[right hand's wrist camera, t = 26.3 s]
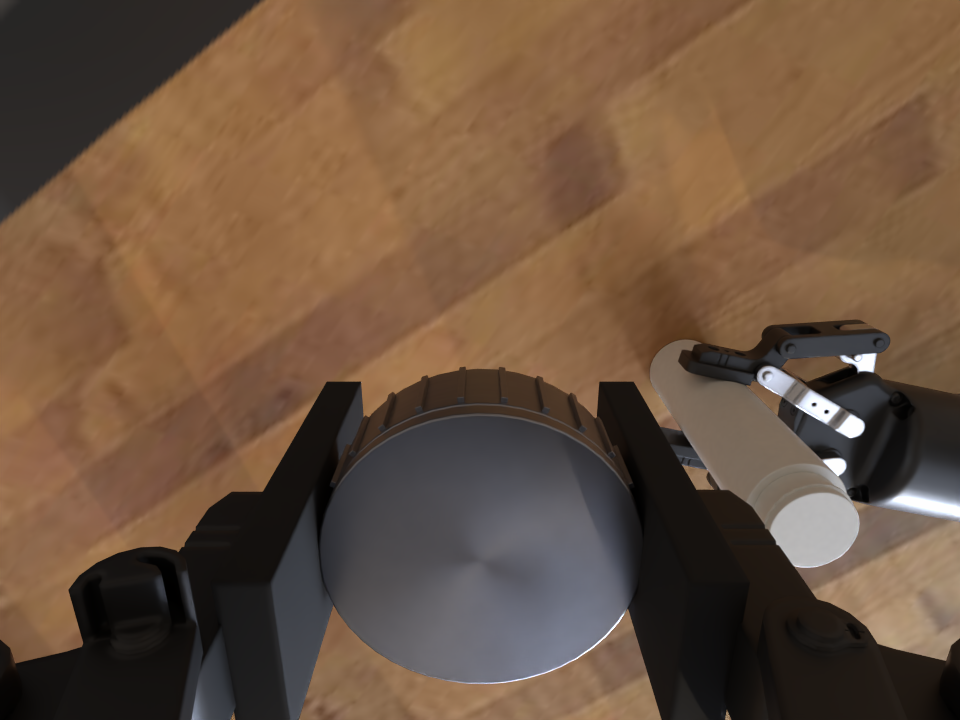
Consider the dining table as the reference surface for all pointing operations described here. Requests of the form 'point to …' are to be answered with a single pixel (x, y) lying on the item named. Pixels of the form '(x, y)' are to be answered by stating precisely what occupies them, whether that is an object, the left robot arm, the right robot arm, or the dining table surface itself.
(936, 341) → the dining table surface
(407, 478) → the lid
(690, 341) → the jar
